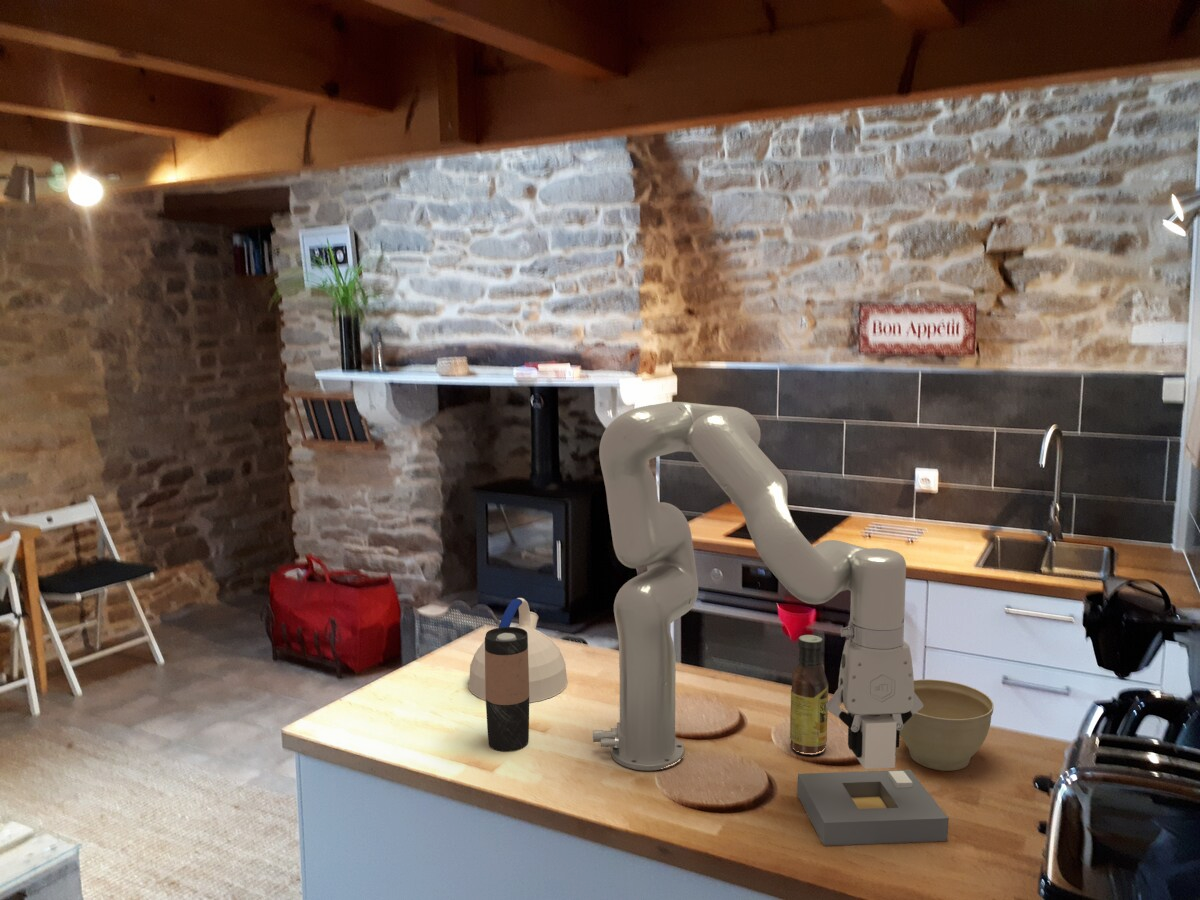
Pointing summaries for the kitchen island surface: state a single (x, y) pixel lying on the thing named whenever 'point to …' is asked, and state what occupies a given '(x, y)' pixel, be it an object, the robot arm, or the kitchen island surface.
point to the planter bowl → (947, 724)
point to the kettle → (542, 658)
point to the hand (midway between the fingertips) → (873, 751)
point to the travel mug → (507, 688)
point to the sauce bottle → (809, 698)
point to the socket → (871, 808)
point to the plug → (878, 741)
